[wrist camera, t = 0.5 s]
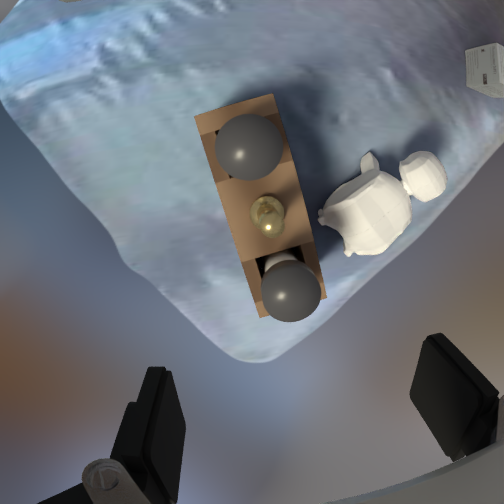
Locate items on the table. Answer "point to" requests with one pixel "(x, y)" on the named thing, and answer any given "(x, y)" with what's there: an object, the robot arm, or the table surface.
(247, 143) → the knob
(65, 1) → the alarm clock
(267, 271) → the dark grey rounded lump
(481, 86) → the skincare box
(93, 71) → the table surface
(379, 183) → the white piece
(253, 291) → the walnut mount
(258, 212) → the brass door knob
